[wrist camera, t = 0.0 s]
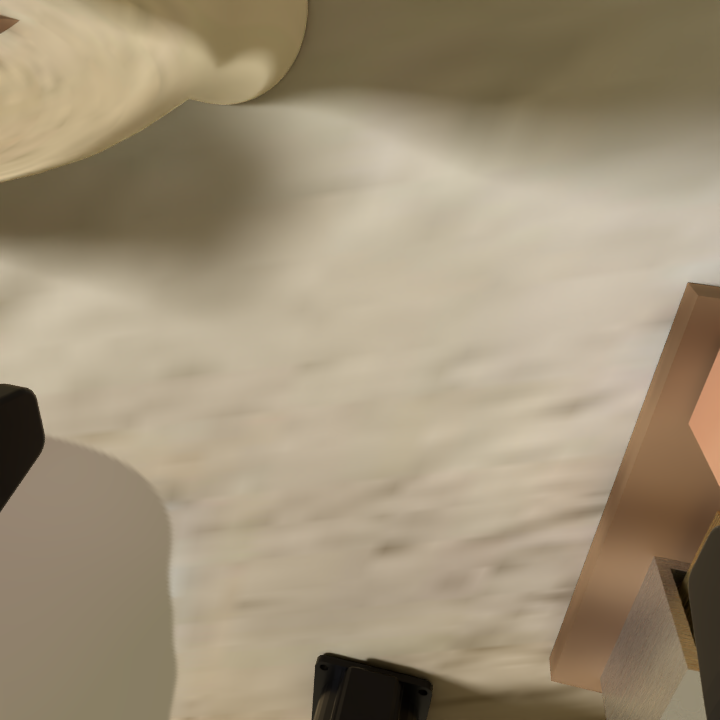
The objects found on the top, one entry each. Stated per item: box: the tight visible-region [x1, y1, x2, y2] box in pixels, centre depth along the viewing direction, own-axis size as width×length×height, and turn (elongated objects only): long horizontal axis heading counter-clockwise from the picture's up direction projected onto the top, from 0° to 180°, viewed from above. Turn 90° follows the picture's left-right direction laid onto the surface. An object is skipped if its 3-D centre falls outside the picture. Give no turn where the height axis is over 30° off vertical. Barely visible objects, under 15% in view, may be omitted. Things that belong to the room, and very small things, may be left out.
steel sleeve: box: [600, 556, 707, 720], centre depth 23 cm, size 8×5×5 cm, turn 175°
